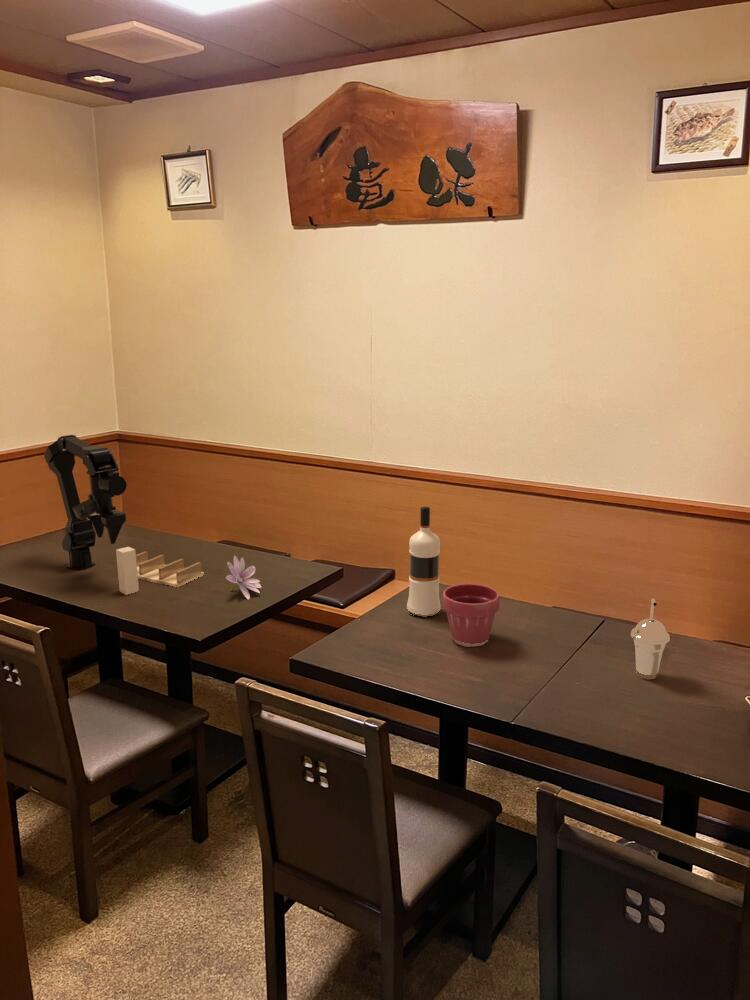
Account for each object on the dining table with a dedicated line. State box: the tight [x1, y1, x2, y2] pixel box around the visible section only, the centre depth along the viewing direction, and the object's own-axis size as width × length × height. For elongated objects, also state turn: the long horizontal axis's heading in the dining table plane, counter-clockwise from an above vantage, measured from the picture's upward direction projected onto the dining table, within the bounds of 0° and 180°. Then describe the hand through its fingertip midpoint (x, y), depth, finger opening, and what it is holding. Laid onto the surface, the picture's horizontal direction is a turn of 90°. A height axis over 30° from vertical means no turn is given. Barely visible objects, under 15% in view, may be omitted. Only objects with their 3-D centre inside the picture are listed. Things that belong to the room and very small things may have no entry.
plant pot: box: [442, 583, 500, 644], centre depth 202 cm, size 14×14×13 cm
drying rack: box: [136, 551, 205, 589], centre depth 249 cm, size 23×12×4 cm, turn 62°
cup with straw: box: [630, 597, 671, 675], centre depth 182 cm, size 8×9×20 cm
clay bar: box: [115, 546, 140, 596], centre depth 235 cm, size 4×4×13 cm
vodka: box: [406, 506, 442, 615], centre depth 217 cm, size 9×9×30 cm
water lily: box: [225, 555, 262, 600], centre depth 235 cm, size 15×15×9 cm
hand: (106, 540), depth 242 cm, fingers open, 9 cm apart
